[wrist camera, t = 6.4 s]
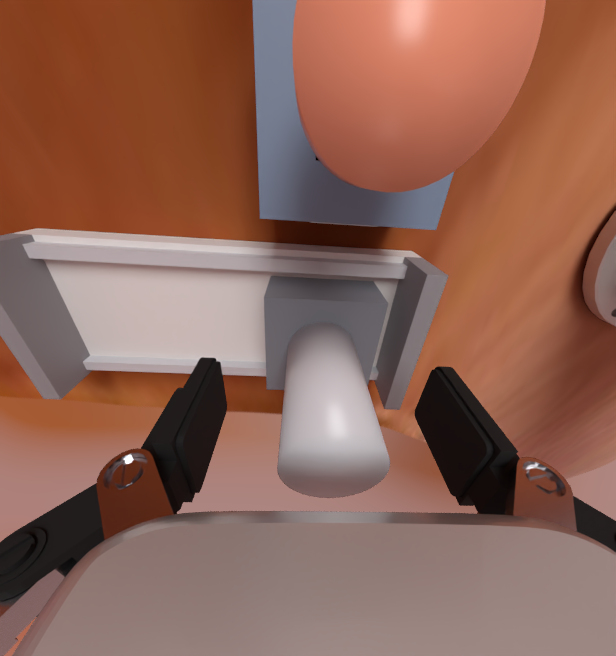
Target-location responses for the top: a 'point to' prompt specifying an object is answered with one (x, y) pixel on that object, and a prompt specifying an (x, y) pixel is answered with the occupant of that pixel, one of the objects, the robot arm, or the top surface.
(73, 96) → the top surface
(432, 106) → the knob
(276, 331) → the carriage
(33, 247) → the rail
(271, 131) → the box
